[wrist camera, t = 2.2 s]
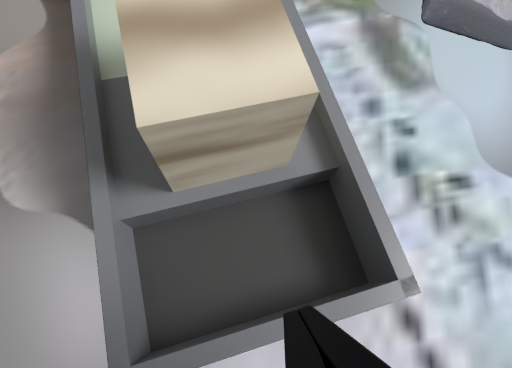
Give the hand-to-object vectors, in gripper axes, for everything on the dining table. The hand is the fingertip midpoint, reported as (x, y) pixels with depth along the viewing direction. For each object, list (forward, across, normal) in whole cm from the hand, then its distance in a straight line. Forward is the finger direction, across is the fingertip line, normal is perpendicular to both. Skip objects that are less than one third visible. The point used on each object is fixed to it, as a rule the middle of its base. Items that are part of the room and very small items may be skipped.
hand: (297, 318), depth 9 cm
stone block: (+25, -31, -6) cm, 40 cm away
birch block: (+16, 0, -3) cm, 16 cm away
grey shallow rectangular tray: (+21, 0, -4) cm, 21 cm away
